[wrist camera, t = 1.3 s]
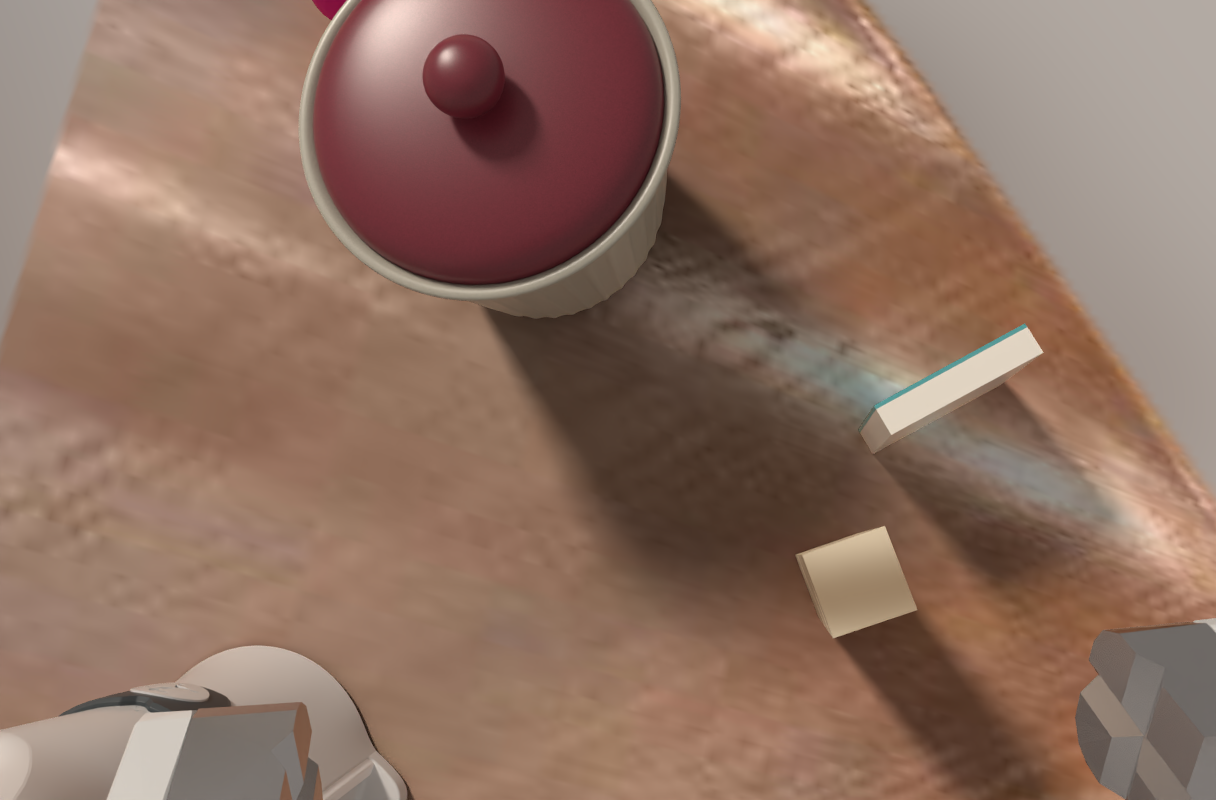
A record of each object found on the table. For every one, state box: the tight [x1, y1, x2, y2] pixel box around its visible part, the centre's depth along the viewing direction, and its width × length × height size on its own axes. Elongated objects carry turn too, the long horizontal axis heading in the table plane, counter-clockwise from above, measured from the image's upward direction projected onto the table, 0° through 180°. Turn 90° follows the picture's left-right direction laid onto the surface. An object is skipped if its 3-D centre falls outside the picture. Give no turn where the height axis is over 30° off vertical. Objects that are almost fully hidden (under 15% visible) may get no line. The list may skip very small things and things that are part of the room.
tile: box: [858, 324, 1043, 454], centre depth 56 cm, size 2×8×10 cm, turn 117°
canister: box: [299, 0, 681, 319], centre depth 55 cm, size 18×18×21 cm
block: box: [795, 526, 917, 638], centre depth 52 cm, size 4×4×16 cm
